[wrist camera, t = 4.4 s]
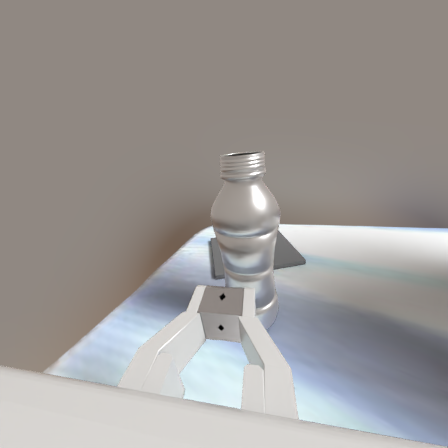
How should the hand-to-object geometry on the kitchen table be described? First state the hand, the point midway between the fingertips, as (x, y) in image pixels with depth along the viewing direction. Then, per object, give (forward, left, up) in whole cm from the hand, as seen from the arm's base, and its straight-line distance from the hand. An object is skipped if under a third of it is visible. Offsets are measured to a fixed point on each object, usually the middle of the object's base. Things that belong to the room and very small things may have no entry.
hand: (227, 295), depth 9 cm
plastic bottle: (-3, -9, -14) cm, 17 cm away
